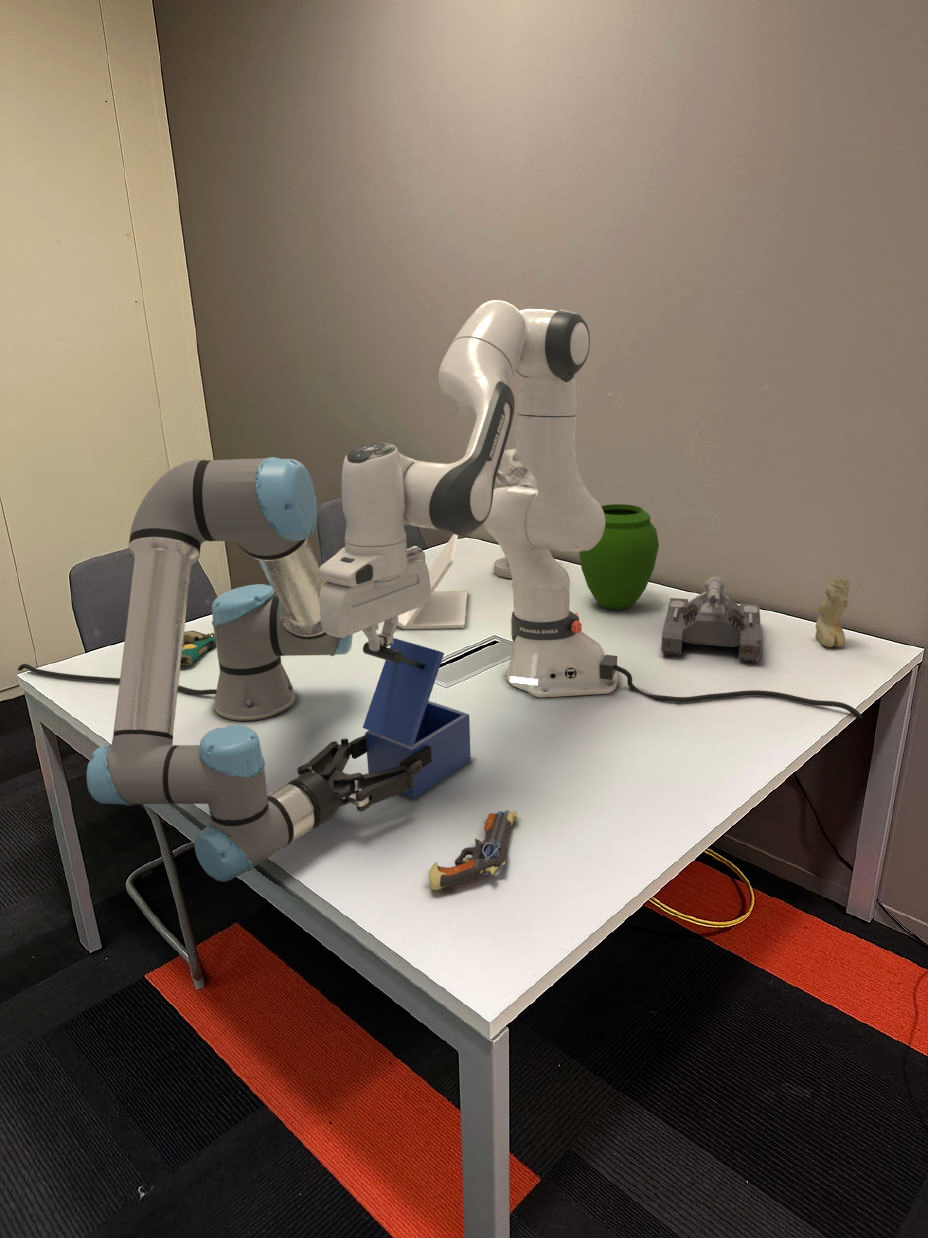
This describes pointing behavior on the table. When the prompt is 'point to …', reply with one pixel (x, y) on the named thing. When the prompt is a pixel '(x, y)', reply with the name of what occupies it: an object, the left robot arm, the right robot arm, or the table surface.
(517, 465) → the bust sculpture
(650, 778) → the table surface
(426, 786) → the chest
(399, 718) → the lid
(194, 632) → the spray gun
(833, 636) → the sculpture
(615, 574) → the vase
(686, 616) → the toy
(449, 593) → the tablet stand
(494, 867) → the toy gun
